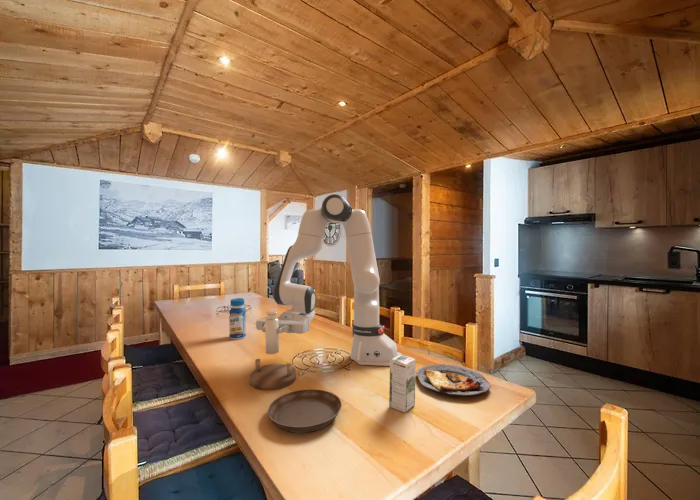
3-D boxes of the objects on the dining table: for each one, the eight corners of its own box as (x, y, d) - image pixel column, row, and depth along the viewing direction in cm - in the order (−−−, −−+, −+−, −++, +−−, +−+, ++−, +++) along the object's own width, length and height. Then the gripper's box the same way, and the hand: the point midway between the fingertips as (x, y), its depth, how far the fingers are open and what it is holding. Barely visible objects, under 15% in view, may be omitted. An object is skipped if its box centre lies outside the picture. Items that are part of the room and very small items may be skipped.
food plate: (501, 401, 97) (501, 390, 97) (426, 401, 97) (426, 390, 97) (471, 370, 122) (471, 361, 122) (411, 370, 122) (411, 361, 122)
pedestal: (303, 373, 118) (303, 356, 117) (281, 393, 102) (281, 373, 102) (266, 368, 123) (266, 351, 122) (240, 386, 107) (240, 367, 107)
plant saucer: (254, 416, 89) (254, 405, 89) (311, 392, 104) (311, 382, 104) (296, 450, 74) (296, 436, 74) (356, 416, 89) (356, 405, 89)
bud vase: (281, 350, 114) (280, 310, 114) (274, 354, 110) (273, 313, 110) (270, 349, 116) (269, 310, 116) (263, 353, 112) (262, 312, 111)
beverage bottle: (249, 336, 164) (249, 298, 163) (236, 341, 157) (235, 301, 156) (239, 334, 168) (238, 297, 168) (225, 338, 161) (225, 299, 161)
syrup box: (398, 399, 98) (398, 353, 98) (415, 405, 94) (415, 358, 94) (388, 407, 94) (388, 359, 93) (406, 413, 90) (406, 363, 89)
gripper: (267, 311, 128) (246, 319, 115) (312, 315, 122) (295, 323, 109) (267, 327, 129) (246, 336, 115) (313, 331, 122) (295, 341, 109)
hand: (270, 330), depth 112 cm, fingers closed on bud vase, 5 cm apart
